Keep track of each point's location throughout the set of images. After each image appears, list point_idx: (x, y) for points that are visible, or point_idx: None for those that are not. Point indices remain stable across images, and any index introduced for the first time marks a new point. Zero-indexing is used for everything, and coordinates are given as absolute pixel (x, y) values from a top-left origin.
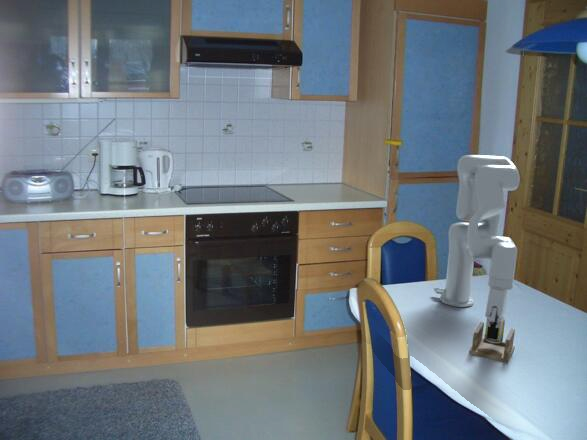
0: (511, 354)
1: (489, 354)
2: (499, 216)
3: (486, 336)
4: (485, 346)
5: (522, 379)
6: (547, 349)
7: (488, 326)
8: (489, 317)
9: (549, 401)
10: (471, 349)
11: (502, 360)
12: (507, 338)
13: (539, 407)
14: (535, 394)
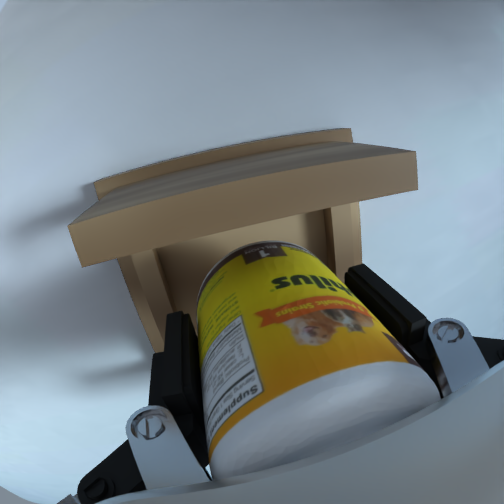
0: None
1: (144, 300)
2: None
3: (208, 287)
4: (243, 229)
5: (90, 436)
6: None
7: (162, 396)
8: (245, 462)
9: (60, 480)
10: (118, 184)
11: None
12: None
13: (19, 468)
14: (53, 463)
